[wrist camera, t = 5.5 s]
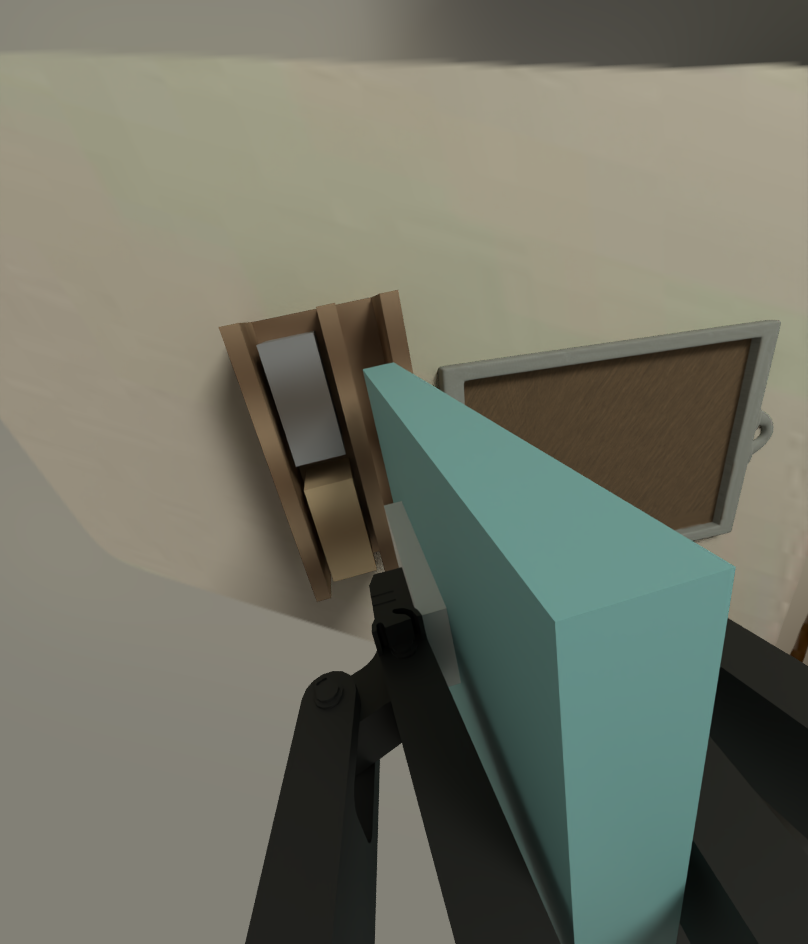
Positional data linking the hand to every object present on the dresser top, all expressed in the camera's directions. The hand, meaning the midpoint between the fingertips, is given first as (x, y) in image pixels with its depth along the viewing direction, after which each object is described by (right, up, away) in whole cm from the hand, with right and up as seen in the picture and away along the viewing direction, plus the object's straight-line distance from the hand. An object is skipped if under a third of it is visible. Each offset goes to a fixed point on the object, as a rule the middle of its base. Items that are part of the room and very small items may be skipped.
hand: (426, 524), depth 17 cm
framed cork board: (+17, +4, +18) cm, 25 cm away
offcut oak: (-6, 0, +13) cm, 14 cm away
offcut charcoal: (-7, +7, +9) cm, 14 cm away
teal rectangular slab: (-1, +2, +6) cm, 6 cm away
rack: (-5, +4, +12) cm, 14 cm away
